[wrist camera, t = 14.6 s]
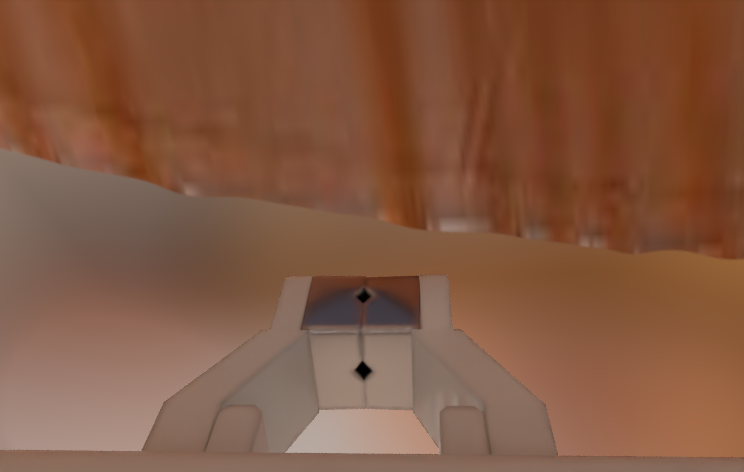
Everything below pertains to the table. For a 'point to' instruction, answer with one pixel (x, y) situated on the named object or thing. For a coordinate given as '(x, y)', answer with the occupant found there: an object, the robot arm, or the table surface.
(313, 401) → the robot arm
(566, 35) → the table surface
